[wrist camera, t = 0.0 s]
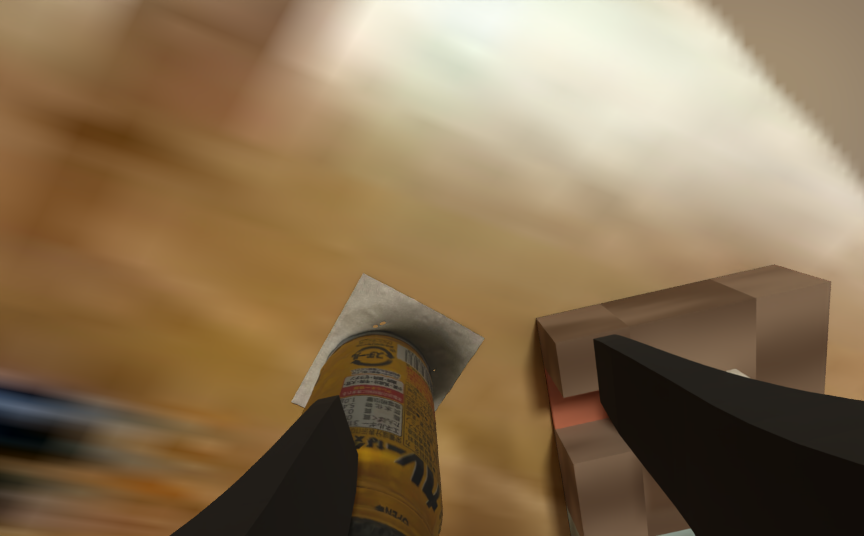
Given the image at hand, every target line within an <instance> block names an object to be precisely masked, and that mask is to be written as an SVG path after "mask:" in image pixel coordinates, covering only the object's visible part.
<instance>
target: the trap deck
mask: <svg viewBox="0 0 864 536" xmlns="http://www.w3.org/2000/svg"><path fill="white" fill-rule="evenodd" d="M830 291H831V281H827V280H824V279H821V278H817V277H814V276H811V275H807V274H804V273H801V272H797V271H794V270H791V269H787V268H784V267H781V266H777V265H771V266H766V267H762V268H757V269H753V270H749V271H744V272H740V273H735V274H731V275H726V276H722V277H717V278H713V279H708V280H704V281H700V282H695V283H691V284H686V285H682V286H677V287H673V288H668V289H664V290H659V291H655V292H651V293H646V294H642V295H637V296H633V297H628V298H624V299H619V300H615V301H611V302H606V303H602V304H597V305H593V306H588V307H584V308H579V309H575V310H570V311H566V312H562V313H557V314H553V315H548V316H544V317H539V318H536V320H537V326H538V332H539V338H540V345H541V351H542V357H543V363H544V370H545V376H546V382H547V388H548V395H549V401H550V407H551V413H552V420H553V426H554V432H555V438H556V444H557V451H558V457H559V463H560V469H561V476H562V482H563V488H564V494H565V501H566V507H567V513H568V519H569V526H570V532H571V536H695V534H694V533H693V531H692V530H691V528H690V526H689V525H688V524H687V522H686V521H685V519H684V518H683V517H682V515H681V514H680V512H679V511H678V510H677V508H676V507H675V506H674V504H673V503H672V502H671V501H670V499H669V498H668V497H667V495H666V494H665V493H664V492H663V490H662V489H661V488H660V486H659V485H658V484H657V483H656V481H655V480H654V479H653V477H652V476H651V475H650V474H649V472H648V471H647V470H646V468H645V467H644V466H643V465H642V463H641V462H640V461H639V459H638V458H637V457H636V456H635V454H634V453H633V452H632V450H631V449H630V448H629V446H628V445H627V444H626V443H625V441H624V440H623V439H622V437H621V436H620V435H619V433H618V431H617V430H616V428H615V426H614V425H613V423H612V422H611V420H610V418H609V416H608V415H607V413H606V411H605V409H604V408H603V406H602V404H601V402H600V395H599V386H598V377H597V369H596V360H595V351H594V343H593V339H595V338H599V337H604V336H608V335H613V334H617V335H620V336H624V337H627V338H630V339H633V340H635V341H638V342H641V343H644V344H647V345H649V346H652V347H655V348H657V349H660V350H663V351H666V352H668V353H671V354H674V355H677V356H680V357H682V358H685V359H688V360H691V361H694V362H697V363H700V364H703V365H706V366H710V367H713V368H716V369H719V370H723V371H728V370H732V369H737V370H739V371H740V372H742V373H743V374H745V375H746V376H748V377H749V378H751V379H755V380H759V381H763V382H768V383H772V384H776V385H780V386H784V387H789V388H794V389H798V390H803V391H808V392H814V393H819V394H824V390H825V374H826V357H827V341H828V324H829V308H830Z"/></svg>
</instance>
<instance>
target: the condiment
mask: <svg viewBox="0 0 864 536" xmlns="http://www.w3.org/2000/svg"><path fill="white" fill-rule="evenodd" d="M383 321H385V322H386V324H384V325H379V324H380V323H381V322H383ZM373 325H378V328H373ZM483 340H484V338H483V337H481V336H480V335H478V334H476V333H474V332H472V331H471V330H469V329H468V328H466V327H464V326H462V325H460V324H458V323H457V322H455V321H453V320H451V319H449V318H447V317H445V316H444V315H442V314H440V313H438V312H436V311H434V310H433V309H431V308H429V307H427V306H425V305H423V304H421V303H419V302H418V301H416V300H415V299H412V298H410V297H408V296H406V295H404V294H402V293H400V292H398V291H396V290H395V289H393V288H391V287H389V286H387V285H385V284H383V283H381V282H379V281H377V280H375V279H373V278H371V277H370V276H368V275H366V274H364V273H363V275H362V276H361V278H360V280H359V282H358V284H357V285H356V287H355V289H354V291H353V293H352V294H351V296H350V298H349V300H348V302H347V303H346V305H345V307H344V309H343V311H342V313H341V314H340V316H339V318H338V319H337V321H336V323H335V325H334V326H333V328H332V330H331V332H330V334H329V335H328V337H327V339H326V341H325V342H324V344H323V346H322V348H321V350H320V351H319V353H318V355H317V357H316V359H315V360H314V362H313V364H312V366H311V368H310V369H309V371H308V373H307V375H306V376H305V378H304V380H303V382H302V384H301V385H300V387H299V389H298V391H297V393H296V394H295V396H294V398H293V400H292V403H295V404H297V405H299V406H302V407H304V410H303V412H302V414H303V413H304V412H305V411H306V410H307V409H308V408H309V407H310V406H311V405H312V404H313V403H314V402H315V401H317V400H318V399H322V398H327V397H331V396H336V395H339V397H340V400H341V403H342V406H343V409H344V412H345V415H346V419H347V422H348V425H349V428H350V431H351V434H352V437H353V440H354V443H355V446H356V449H357V452H358V471H357V486H356V495H355V500H354V506H353V511H352V517H351V522H350V527H349V532H348V536H439V534H440V531H441V525H442V516H443V506H442V494H441V482H440V470H439V459H438V444H437V434H436V421H435V411H436V410H437V408H438V406H439V404H440V403H441V402H442V400H443V399H444V398H445V396H446V394H447V393H448V392H449V391H450V390H451V388H452V387H453V385H454V383H455V381H456V380H457V378H458V377H459V376H460V374H461V372H462V371H463V369H464V368H465V366H466V365H467V363H468V362H469V360H470V359H471V358H472V356H473V355H474V354H475V352H476V351H477V349H478V347H479V346H480V344H481V343H482V341H483ZM433 370H435V371H433Z"/></svg>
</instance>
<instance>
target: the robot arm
mask: <svg viewBox="0 0 864 536" xmlns="http://www.w3.org/2000/svg"><path fill="white" fill-rule="evenodd" d="M593 343H594V351H595V360H596V369H597V377H598V386H599V395H600V402H601V404H602V406H603V408H604V409H605V411H606V413H607V415H608V416H609V418H610V420H611V422H612V423H613V425H614V426H615V428H616V430H617V431H618V433H619V435H620V436H621V437H622V439H623V440H624V441H625V443H626V444H627V445H628V446H629V448H630V449H631V450H632V452H633V453H634V454H635V456H636V457H637V458H638V459H639V461H640V462H641V463H642V465H643V466H644V467H645V468H646V470H647V471H648V472H649V474H650V475H651V476H652V477H653V479H654V480H655V481H656V483H657V484H658V485H659V486H660V488H661V489H662V490H663V492H664V493H665V494H666V495H667V497H668V498H669V499H670V501H671V502H672V503H673V504H674V506H675V507H676V508H677V510H678V511H679V512H680V514H681V515H682V517H683V518H684V519H685V521H686V522H687V524H688V525H689V526H690V528H691V530H692V531H693V533H694V534H695V536H864V401H861V400H854V399H848V398H842V397H836V396H831V395H825V394H819V393H814V392H808V391H803V390H798V389H794V388H789V387H784V386H780V385H776V384H772V383H768V382H763V381H759V380H755V379H751V378H747V377H743V376H740V375H736V374H733V373H729V372H726V371H723V370H719V369H716V368H713V367H710V366H706V365H703V364H700V363H697V362H694V361H691V360H688V359H685V358H682V357H680V356H677V355H674V354H671V353H668V352H666V351H663V350H660V349H657V348H655V347H652V346H649V345H647V344H644V343H641V342H638V341H635V340H633V339H630V338H627V337H624V336H620V335H617V334H613V335H608V336H604V337H599V338H595V339H593ZM357 471H358V452H357V449H356V446H355V443H354V440H353V437H352V434H351V431H350V428H349V425H348V422H347V419H346V415H345V412H344V409H343V406H342V403H341V400H340V397H339V395H336V396H331V397H327V398H322V399H318V400H317V401H315V402H314V403H313V404H312V405H311V406H310V407H309V408H308V409H307V410H306V411H305V412H304V413H303V414H302V415H301V417H300V418H299V419H298V420H297V421H296V422H295V423H294V424H293V425H292V426H291V427H290V428H289V429H288V430H287V431H286V433H285V434H284V435H283V436H282V437H281V438H280V439H279V440H278V441H277V442H276V443H275V444H274V445H273V446H272V447H271V448H270V449H269V450H268V451H267V452H266V453H265V454H264V455H263V456H262V457H261V458H260V459H259V460H258V461H257V462H256V463H255V464H254V465H253V466H252V467H251V468H250V469H249V470H248V471H247V472H246V473H245V474H244V475H243V476H242V477H241V478H240V479H239V480H238V481H236V482H235V483H234V484H233V485H232V486H231V487H230V488H229V489H228V490H226V491H225V492H224V493H223V494H222V495H221V496H219V497H218V498H217V499H216V500H215V501H214V502H212V503H211V504H210V505H209V506H208V507H206V508H205V509H204V510H203V511H202V512H200V513H199V514H198V515H197V516H195V517H194V518H193V519H191V520H190V521H189V522H187V523H186V524H185V525H183V526H182V527H181V528H179V529H178V530H177V531H175V532H174V533H173V534H171V535H170V536H348V532H349V527H350V522H351V517H352V511H353V506H354V500H355V495H356V486H357Z"/></svg>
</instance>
